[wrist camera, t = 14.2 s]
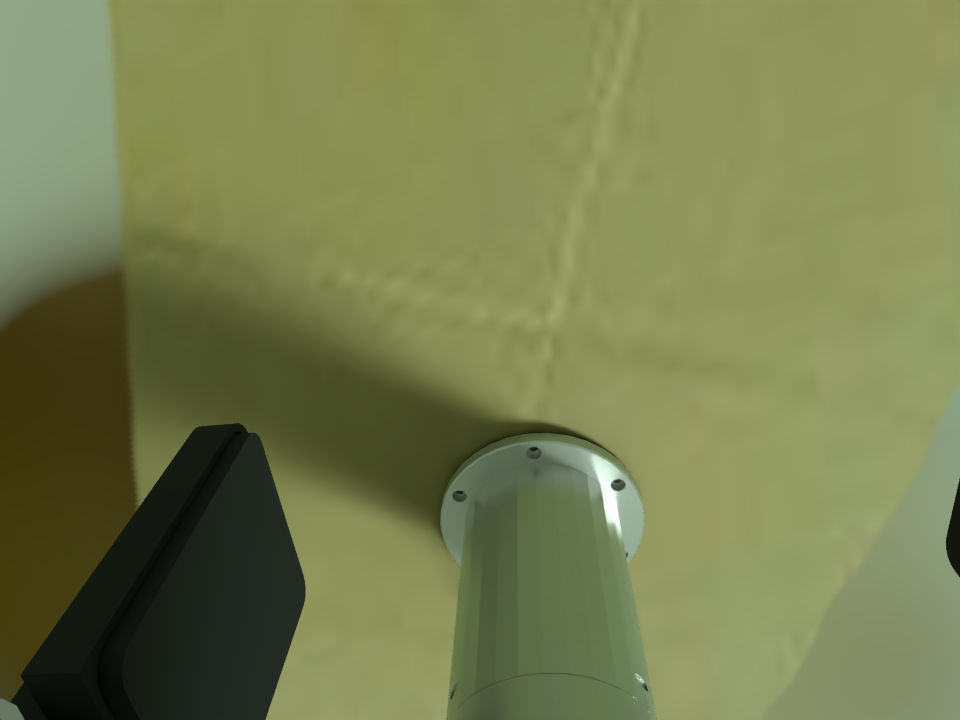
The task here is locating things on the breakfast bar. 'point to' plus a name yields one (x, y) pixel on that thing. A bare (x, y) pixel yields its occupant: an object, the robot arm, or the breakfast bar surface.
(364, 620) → the breakfast bar surface
